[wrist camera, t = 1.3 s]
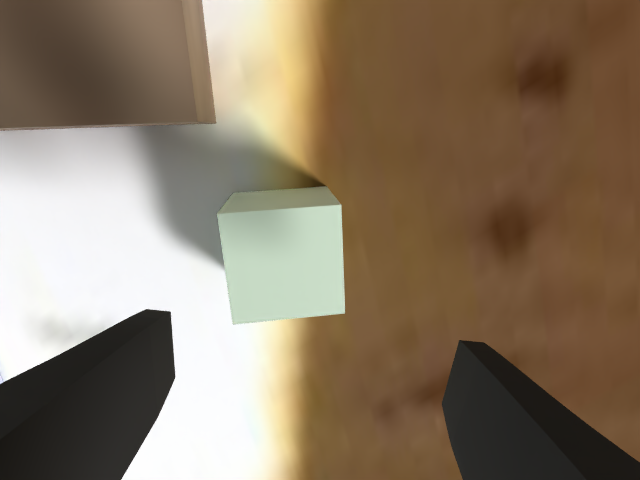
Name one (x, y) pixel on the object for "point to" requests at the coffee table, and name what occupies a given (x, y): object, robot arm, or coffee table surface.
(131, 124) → the walnut block
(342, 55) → the coffee table surface
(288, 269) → the sage cube
